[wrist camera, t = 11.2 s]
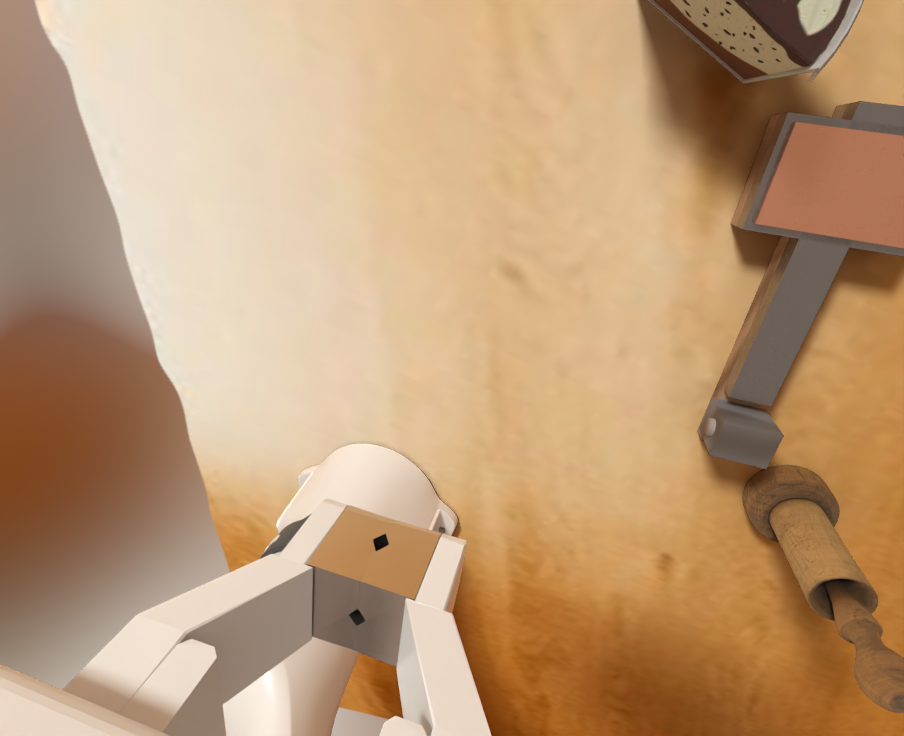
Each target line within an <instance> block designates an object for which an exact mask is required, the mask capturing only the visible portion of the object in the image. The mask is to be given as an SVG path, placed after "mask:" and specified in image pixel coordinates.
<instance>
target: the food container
mask: <svg viewBox="0 0 904 736" xmlns="http://www.w3.org/2000/svg"><path fill="white" fill-rule="evenodd" d="M648 1H649V2H650V3H651V4H652V5H654V6H655V7H656V8H657V9H658V10H659V11H660V12H662V13H663V14H664V15H665V16H666V17H667V18H669V19H670V20H671V21H672V22H673V23H674V24H675V25H677V26H678V27H679V28H680V29H681V30H682V31H683V32H685V33H686V34H687V35H688V36H689V37H690V38H691V39H693V40H694V41H695V42H696V43H697V44H698V45H700V46H701V47H702V48H703V49H704V50H705V51H706V52H708V53H709V54H710V55H711V56H712V57H713V58H714V59H716V60H717V61H718V62H719V63H720V64H721V65H723V66H724V67H725V68H726V69H727V70H728V71H729V72H731V73H732V74H733V75H734V76H735V77H736V78H737V79H739V80H740V81H741V82H742V83H743V84H746V83H751V82H757V81H762V80H768V79H774V78H779V77H785V76H790V75H796V74H802V73H807V72H813V75H812V76H811V77H810V78H809V79H808V81H809V82H811V81H812V80H813V79H814V78H815V77H816V76H817V75H818V74H819V72H820V71H821V70H822V69H823V68H824V67H825V65H826V64H827V63H828V62H829V61H830V59H831V58H832V57H833V56H834V54H835V53H836V51H837V50H838V48H839V47H840V45H841V44H842V42H843V41H844V40H845V38H846V37H847V35H848V33H849V31H850V29H851V27H852V25H853V23H854V22H855V20H856V18H857V16H858V14H859V12H860V9H861V7H862V4H863V1H864V0H648Z"/></svg>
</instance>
